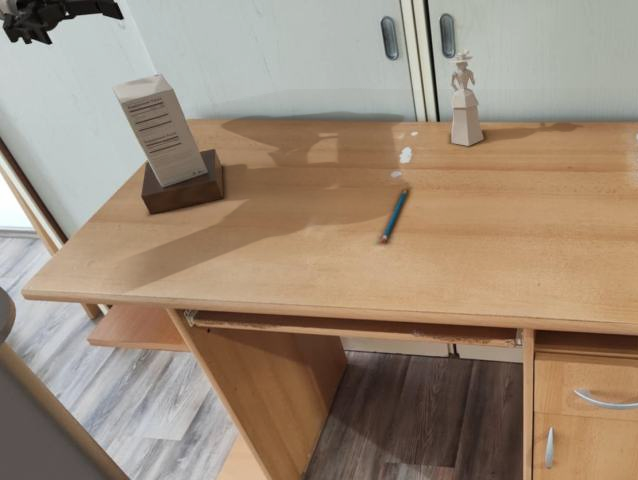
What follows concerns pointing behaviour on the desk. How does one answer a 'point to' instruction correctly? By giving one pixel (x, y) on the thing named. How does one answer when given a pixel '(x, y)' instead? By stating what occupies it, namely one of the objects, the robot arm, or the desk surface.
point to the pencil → (393, 217)
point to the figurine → (464, 105)
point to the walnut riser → (184, 187)
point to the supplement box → (160, 129)
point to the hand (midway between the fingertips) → (84, 23)
